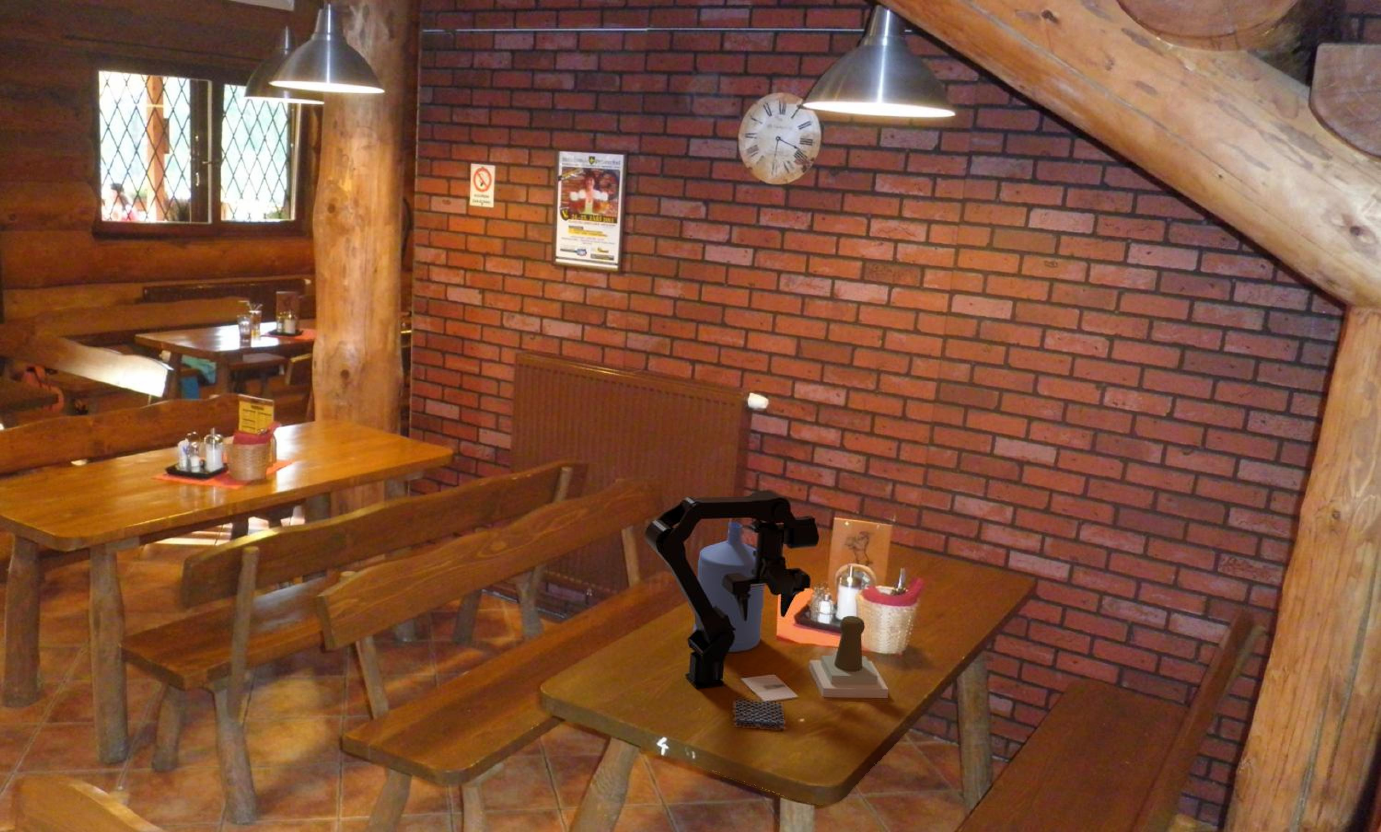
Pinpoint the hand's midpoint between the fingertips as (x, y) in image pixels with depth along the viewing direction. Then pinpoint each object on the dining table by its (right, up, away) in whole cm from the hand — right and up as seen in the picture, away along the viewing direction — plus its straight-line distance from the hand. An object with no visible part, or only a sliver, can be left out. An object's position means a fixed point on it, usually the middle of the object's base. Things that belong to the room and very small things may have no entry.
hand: (763, 618), depth 253 cm
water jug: (-7, -9, +20) cm, 23 cm away
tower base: (+18, -14, +2) cm, 23 cm away
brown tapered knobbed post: (+18, -11, +1) cm, 21 cm away
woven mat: (-2, -18, -17) cm, 24 cm away
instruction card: (+1, -14, -4) cm, 15 cm away
